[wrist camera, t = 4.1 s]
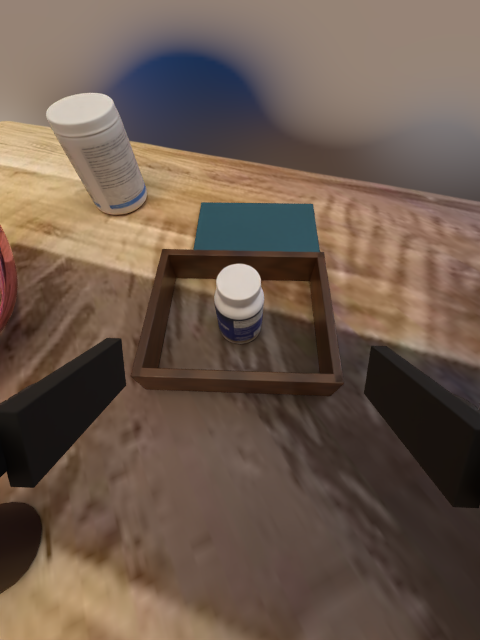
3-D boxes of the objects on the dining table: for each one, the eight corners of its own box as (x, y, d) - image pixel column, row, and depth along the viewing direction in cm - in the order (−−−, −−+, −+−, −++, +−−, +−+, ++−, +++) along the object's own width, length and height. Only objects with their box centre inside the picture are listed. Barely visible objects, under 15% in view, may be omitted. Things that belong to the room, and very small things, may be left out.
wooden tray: (315, 275, 40) (323, 252, 36) (330, 396, 32) (344, 383, 27) (170, 272, 41) (162, 249, 37) (145, 389, 32) (130, 376, 28)
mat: (312, 206, 48) (312, 203, 48) (319, 256, 42) (320, 253, 42) (201, 204, 49) (201, 202, 49) (193, 253, 43) (193, 251, 43)
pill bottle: (214, 315, 37) (204, 266, 29) (252, 303, 38) (255, 253, 30) (226, 351, 35) (220, 310, 26) (267, 337, 35) (275, 294, 27)
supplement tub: (155, 186, 52) (126, 93, 39) (137, 220, 47) (98, 126, 35) (108, 182, 53) (65, 89, 40) (86, 214, 48) (29, 121, 35)
